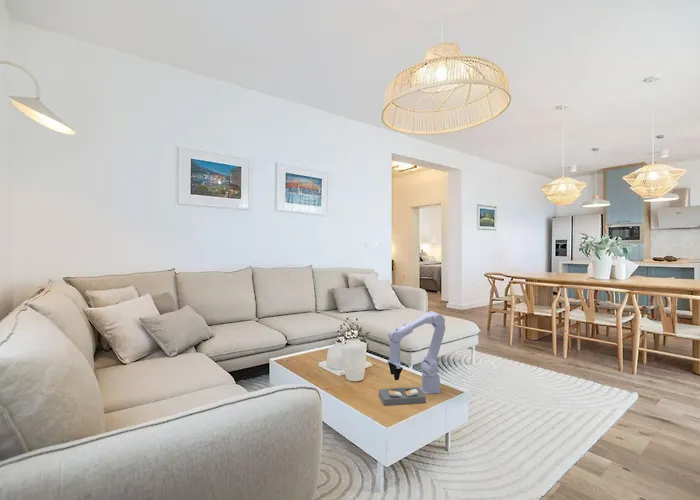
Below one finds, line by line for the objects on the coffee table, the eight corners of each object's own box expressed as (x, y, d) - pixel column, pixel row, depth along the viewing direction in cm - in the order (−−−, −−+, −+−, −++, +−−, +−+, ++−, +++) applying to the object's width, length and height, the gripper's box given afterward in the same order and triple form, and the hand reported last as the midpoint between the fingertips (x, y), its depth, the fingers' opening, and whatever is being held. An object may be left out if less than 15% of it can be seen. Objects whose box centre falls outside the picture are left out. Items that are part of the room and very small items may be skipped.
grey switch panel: (417, 392, 187) (417, 386, 187) (425, 402, 175) (425, 396, 175) (378, 394, 184) (378, 389, 184) (384, 405, 172) (384, 399, 172)
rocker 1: (399, 393, 178) (400, 391, 178) (401, 396, 175) (402, 394, 175) (388, 392, 177) (389, 390, 177) (390, 395, 174) (390, 393, 174)
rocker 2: (416, 390, 180) (415, 388, 180) (418, 393, 176) (417, 391, 176) (405, 393, 179) (404, 391, 179) (407, 396, 175) (407, 394, 175)
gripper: (384, 348, 192) (384, 372, 192) (391, 357, 177) (391, 382, 178) (396, 347, 193) (396, 371, 193) (404, 356, 178) (404, 382, 179)
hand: (394, 377), depth 185 cm, fingers open, 7 cm apart
